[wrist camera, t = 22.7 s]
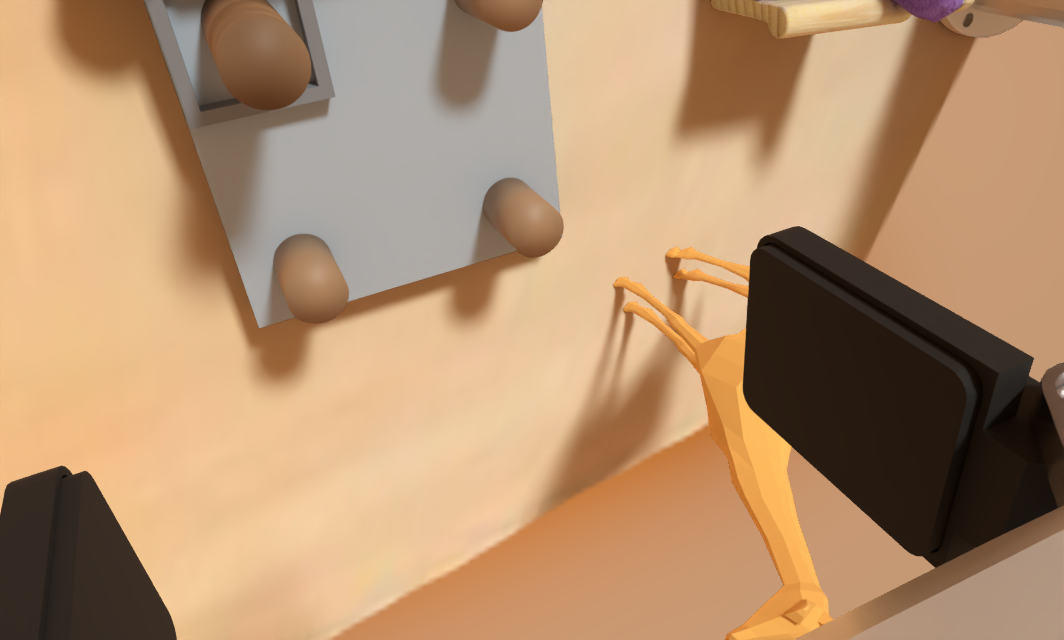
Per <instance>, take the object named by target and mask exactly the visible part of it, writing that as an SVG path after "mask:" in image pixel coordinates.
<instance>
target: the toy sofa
mask: <svg viewBox="0 0 1064 640" xmlns="http://www.w3.org/2000/svg"><path fill="white" fill-rule="evenodd" d="M973 2H974V0H711V6H712V7H713V8H715V9H717V10H721V11H725V12H729V13H734V14H739V15H743V16H747V17H751V18H755V19H758V20H762V21H765V22H767V23H768V28H769V31H770V33H771V34H772V35H773V36H774V37H775V38H778V39H783V38H790V37H797V36H804V35H812V34H819V33H826V32H834V31H841V30H849V29H856V28H864V27H871V26H879V25H887V24H894V23H901V22H903V21H905V20H907V19H908V18H909V17H910V16H911V15H914V16H916V17H919V18H921V19H926V20H929V21H931V22H934V23H935V22H939V21H940V20H941V19H943V18H944V17H946V16H948V15H950V14H951V13H953V12H960V11H963V10H965V9H967V8H968V7H969V6H971V5H972V3H973Z"/></svg>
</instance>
